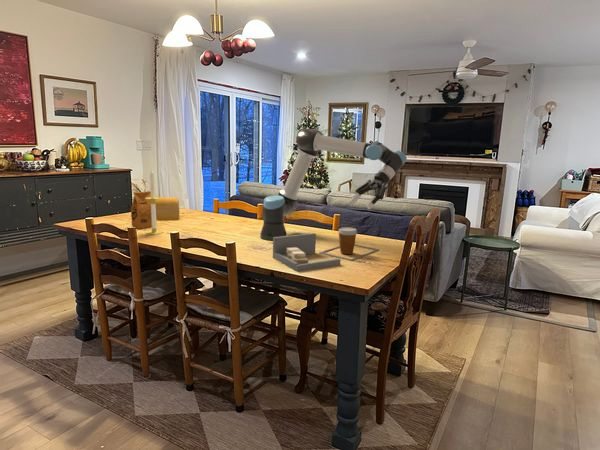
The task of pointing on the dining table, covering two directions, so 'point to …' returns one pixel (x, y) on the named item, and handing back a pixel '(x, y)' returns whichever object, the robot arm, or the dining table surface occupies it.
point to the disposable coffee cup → (347, 239)
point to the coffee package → (141, 210)
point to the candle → (152, 204)
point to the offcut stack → (296, 255)
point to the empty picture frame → (348, 258)
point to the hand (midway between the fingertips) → (359, 205)
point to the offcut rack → (304, 244)
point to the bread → (167, 208)
